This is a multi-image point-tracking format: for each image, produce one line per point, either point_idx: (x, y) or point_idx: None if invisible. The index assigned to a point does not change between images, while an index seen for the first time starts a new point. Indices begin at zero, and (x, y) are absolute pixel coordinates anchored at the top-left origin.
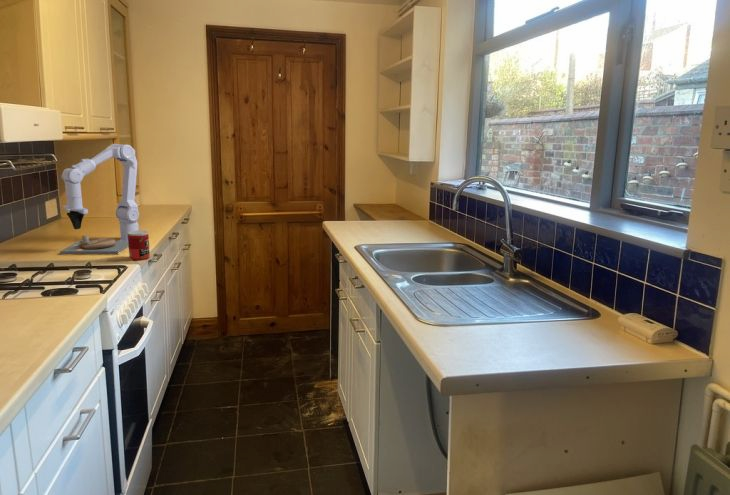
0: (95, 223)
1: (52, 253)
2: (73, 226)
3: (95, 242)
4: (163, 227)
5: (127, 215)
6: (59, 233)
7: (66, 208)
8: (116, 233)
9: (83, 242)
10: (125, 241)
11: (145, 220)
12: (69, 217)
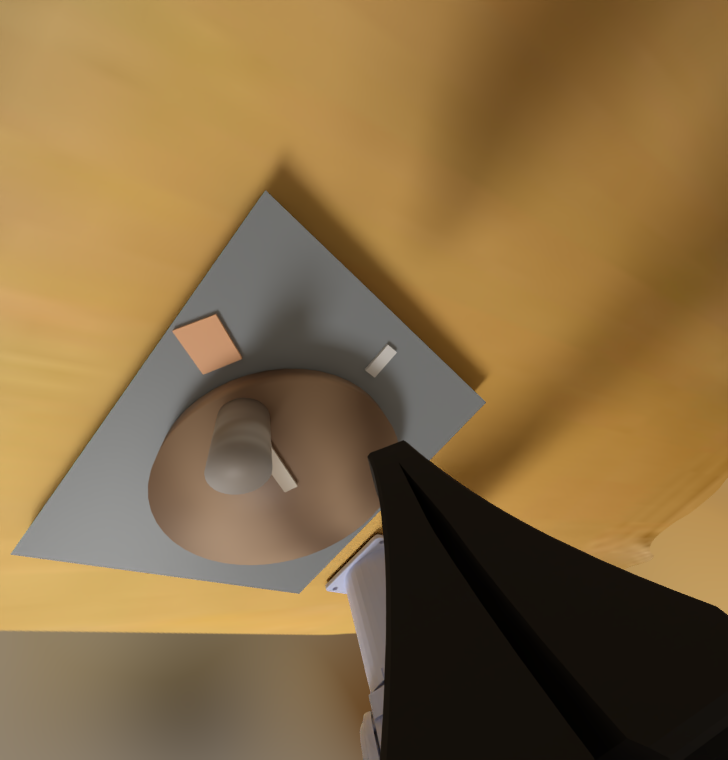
0: (661, 485)
1: (357, 157)
2: (416, 457)
3: (275, 476)
4: None
5: None
6: (684, 367)
7: None
8: None
9: (230, 411)
10: (305, 573)
11: None
12: (572, 563)
